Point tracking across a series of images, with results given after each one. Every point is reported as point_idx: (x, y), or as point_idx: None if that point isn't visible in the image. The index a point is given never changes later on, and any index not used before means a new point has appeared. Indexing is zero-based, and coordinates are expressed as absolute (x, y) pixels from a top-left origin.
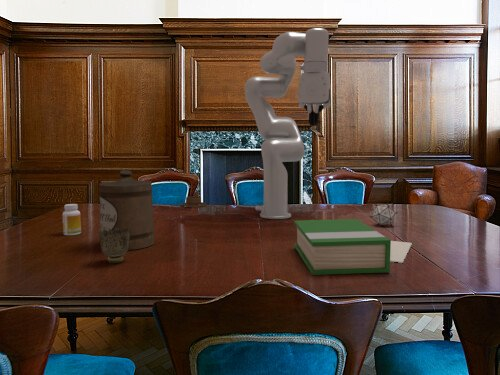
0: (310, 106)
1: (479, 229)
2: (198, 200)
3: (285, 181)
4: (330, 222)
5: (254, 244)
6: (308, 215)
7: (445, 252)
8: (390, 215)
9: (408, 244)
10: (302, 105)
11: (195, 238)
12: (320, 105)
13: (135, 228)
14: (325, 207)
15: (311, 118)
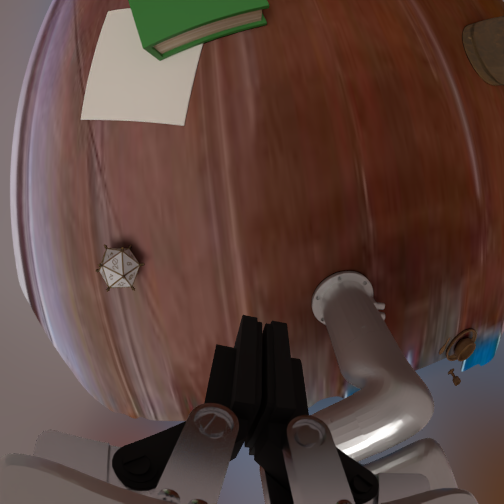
0: (300, 487)
1: (25, 261)
2: (460, 348)
3: (342, 342)
4: (194, 5)
5: (340, 40)
6: None
7: (53, 92)
8: (105, 253)
9: (85, 106)
10: (395, 494)
11: (437, 81)
12: (146, 484)
13: (481, 21)
14: None
15: (274, 361)
